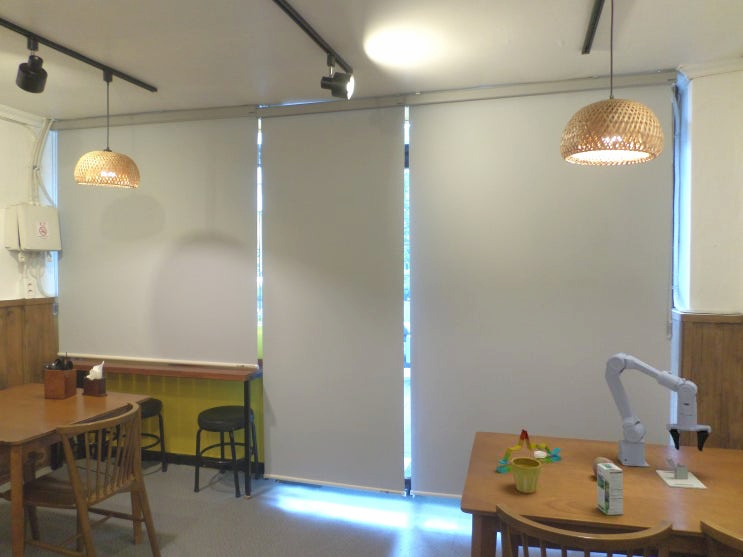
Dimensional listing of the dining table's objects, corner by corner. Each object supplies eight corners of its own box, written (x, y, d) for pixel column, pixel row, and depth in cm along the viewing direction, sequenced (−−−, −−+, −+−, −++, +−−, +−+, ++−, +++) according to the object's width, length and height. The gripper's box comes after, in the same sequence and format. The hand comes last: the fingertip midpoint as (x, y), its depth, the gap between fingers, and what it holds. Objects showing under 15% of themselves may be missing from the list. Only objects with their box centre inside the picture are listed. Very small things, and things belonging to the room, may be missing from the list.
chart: (555, 458, 205) (554, 422, 205) (561, 461, 202) (560, 424, 202) (496, 471, 193) (495, 433, 193) (501, 474, 190) (501, 435, 190)
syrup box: (596, 507, 161) (595, 463, 161) (613, 506, 161) (613, 462, 161) (606, 515, 155) (605, 470, 155) (624, 514, 156) (623, 469, 156)
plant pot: (541, 485, 179) (541, 458, 179) (541, 497, 169) (541, 469, 169) (512, 481, 182) (511, 455, 182) (510, 493, 172) (509, 465, 172)
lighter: (685, 477, 182) (685, 455, 182) (688, 479, 180) (687, 457, 180) (665, 477, 182) (665, 455, 182) (668, 479, 181) (668, 457, 181)
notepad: (669, 486, 175) (669, 485, 175) (655, 471, 189) (655, 470, 189) (706, 489, 173) (706, 487, 173) (690, 473, 186) (690, 472, 186)
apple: (618, 484, 178) (617, 462, 178) (595, 482, 180) (595, 461, 180) (612, 475, 186) (611, 454, 186) (590, 474, 187) (590, 453, 187)
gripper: (670, 415, 183) (671, 452, 183) (714, 417, 180) (715, 454, 180) (663, 410, 190) (664, 445, 190) (706, 412, 187) (706, 448, 187)
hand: (688, 449), depth 185 cm, fingers open, 7 cm apart
